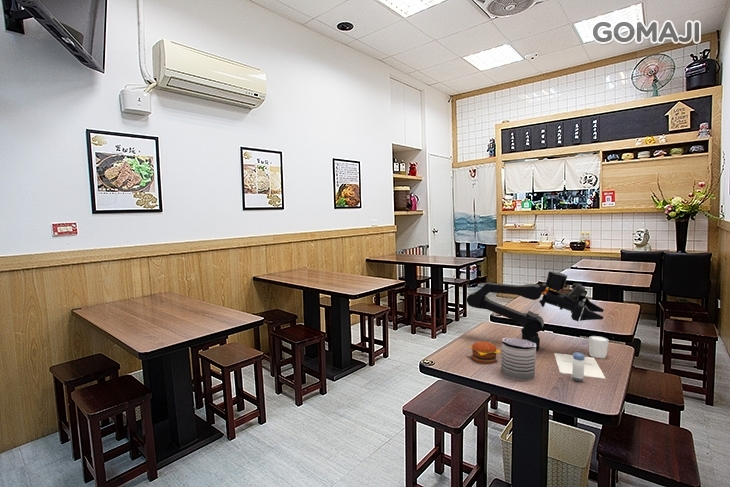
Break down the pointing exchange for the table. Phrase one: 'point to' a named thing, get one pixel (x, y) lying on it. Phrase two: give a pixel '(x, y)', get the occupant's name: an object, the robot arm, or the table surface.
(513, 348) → the can
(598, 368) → the paper
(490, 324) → the table surface
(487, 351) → the hamburger
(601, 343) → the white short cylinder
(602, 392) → the table surface
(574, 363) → the marker
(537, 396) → the table surface
